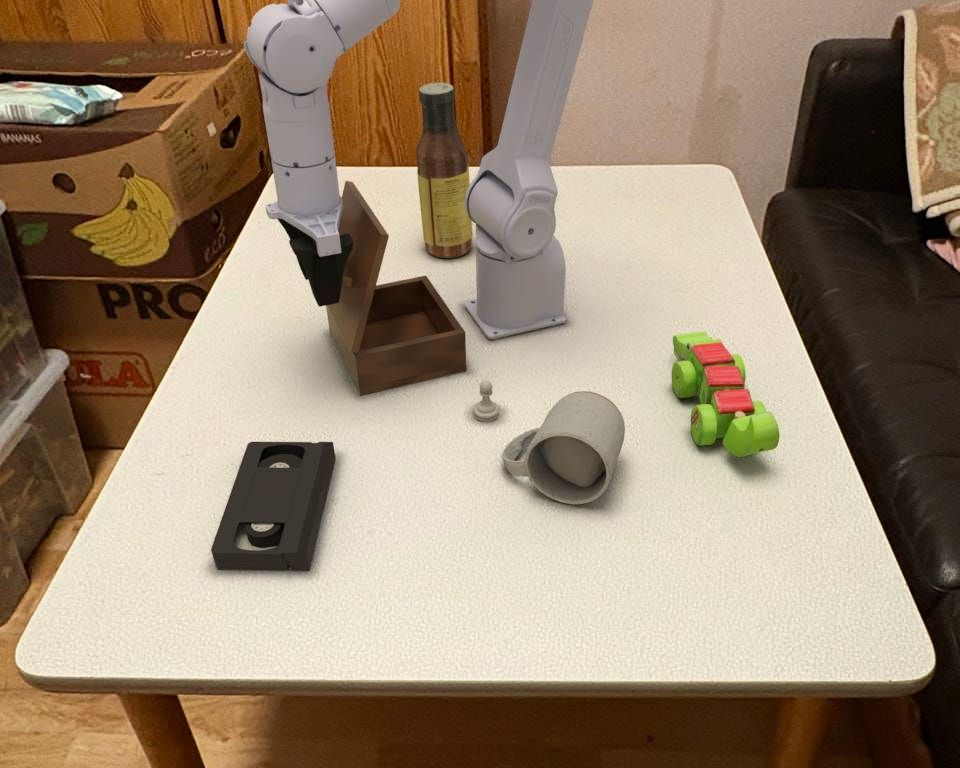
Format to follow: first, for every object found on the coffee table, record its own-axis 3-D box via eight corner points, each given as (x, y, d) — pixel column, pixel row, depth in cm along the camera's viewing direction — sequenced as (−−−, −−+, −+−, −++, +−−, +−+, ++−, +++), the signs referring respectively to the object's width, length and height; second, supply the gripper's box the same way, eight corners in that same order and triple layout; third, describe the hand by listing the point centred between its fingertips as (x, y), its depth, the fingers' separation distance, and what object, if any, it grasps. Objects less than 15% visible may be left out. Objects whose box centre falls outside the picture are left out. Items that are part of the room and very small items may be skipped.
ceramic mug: (625, 455, 85) (632, 388, 80) (606, 513, 79) (612, 444, 74) (517, 435, 88) (516, 369, 83) (491, 490, 82) (488, 422, 77)
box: (428, 312, 105) (426, 275, 101) (466, 371, 96) (465, 332, 93) (329, 333, 102) (324, 295, 98) (360, 395, 93) (355, 356, 90)
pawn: (486, 425, 89) (486, 392, 86) (467, 414, 90) (466, 381, 88) (504, 413, 90) (505, 380, 88) (485, 403, 92) (485, 370, 89)
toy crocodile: (658, 358, 97) (665, 309, 93) (719, 354, 97) (729, 305, 93) (709, 481, 82) (720, 429, 78) (781, 476, 83) (796, 423, 79)
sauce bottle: (482, 244, 117) (479, 84, 103) (455, 265, 113) (449, 101, 100) (439, 232, 119) (432, 74, 106) (412, 252, 115) (400, 91, 102)
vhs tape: (252, 457, 86) (248, 441, 84) (335, 458, 85) (333, 441, 84) (214, 569, 75) (209, 552, 74) (309, 570, 75) (306, 553, 74)
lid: (352, 181, 92) (312, 174, 90) (389, 235, 83) (345, 229, 81) (327, 292, 98) (289, 287, 96) (358, 353, 89) (317, 349, 88)
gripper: (244, 133, 86) (267, 263, 95) (275, 194, 76) (297, 334, 85) (317, 122, 88) (333, 251, 97) (357, 181, 77) (370, 319, 87)
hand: (321, 289), depth 91 cm, fingers closed on lid, 5 cm apart
